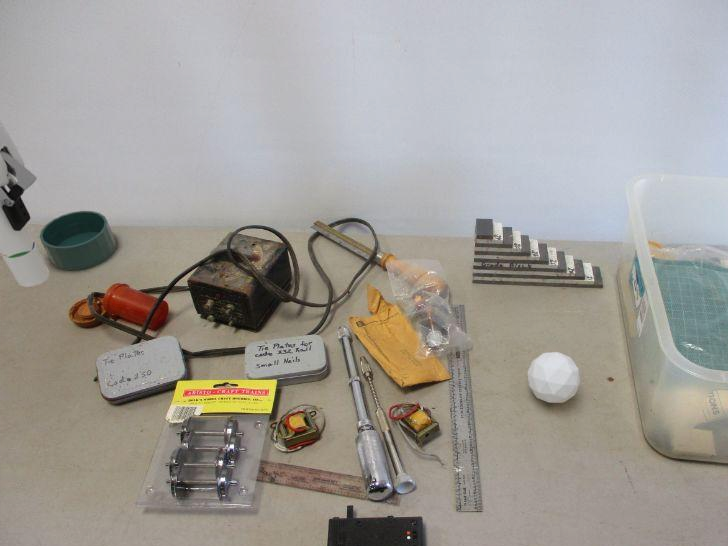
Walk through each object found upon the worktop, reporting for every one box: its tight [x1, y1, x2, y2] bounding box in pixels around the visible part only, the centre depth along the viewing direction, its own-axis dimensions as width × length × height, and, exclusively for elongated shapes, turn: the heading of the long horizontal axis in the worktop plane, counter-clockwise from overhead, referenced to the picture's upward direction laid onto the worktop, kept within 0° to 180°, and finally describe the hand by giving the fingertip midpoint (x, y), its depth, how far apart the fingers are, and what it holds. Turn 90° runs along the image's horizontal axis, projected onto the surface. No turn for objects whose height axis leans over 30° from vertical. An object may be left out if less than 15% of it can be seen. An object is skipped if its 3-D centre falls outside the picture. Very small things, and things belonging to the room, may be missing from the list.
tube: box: [0, 185, 51, 288], centre depth 81 cm, size 4×4×15 cm
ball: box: [526, 351, 581, 404], centre depth 90 cm, size 8×8×8 cm
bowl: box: [39, 210, 117, 271], centre depth 116 cm, size 12×12×6 cm
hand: (4, 222), depth 79 cm, fingers closed on tube, 4 cm apart
